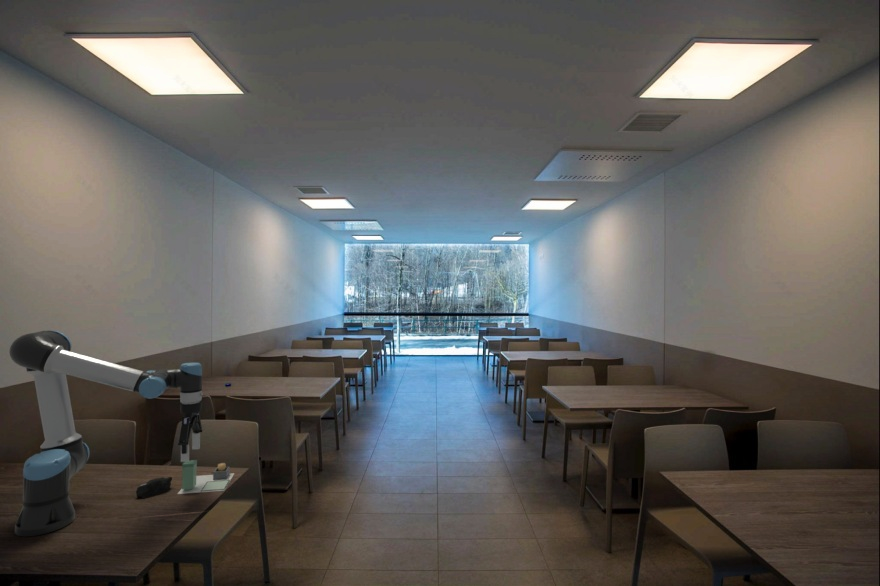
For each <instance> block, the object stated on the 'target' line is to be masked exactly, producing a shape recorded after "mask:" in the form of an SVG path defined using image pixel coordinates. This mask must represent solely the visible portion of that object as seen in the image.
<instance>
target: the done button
mask: <svg viewBox="0 0 880 586" xmlns="http://www.w3.org/2000/svg"><path fill="white" fill-rule="evenodd" d="M217 467H218V471H225V469H226V467H227V466H226V463H225V462H221V463H217Z"/></svg>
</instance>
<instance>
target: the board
mask: <svg viewBox="0 0 880 586" xmlns="http://www.w3.org/2000/svg"><path fill="white" fill-rule="evenodd" d="M234 475H235V473H234V472H233V473H230V474H229V476H228V477H227V479H218V480H213V474H203V475H196V485H195V487H194V489H192V490H189V491H185V490H184V489H182V488H180V490H179V491H178V492H177V495H184V494H195V493H196V494H198V493H209V492H222V491H226V489H227V488H228V485H229V484H230V482H231V480H232V478H233V477H234Z"/></svg>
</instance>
